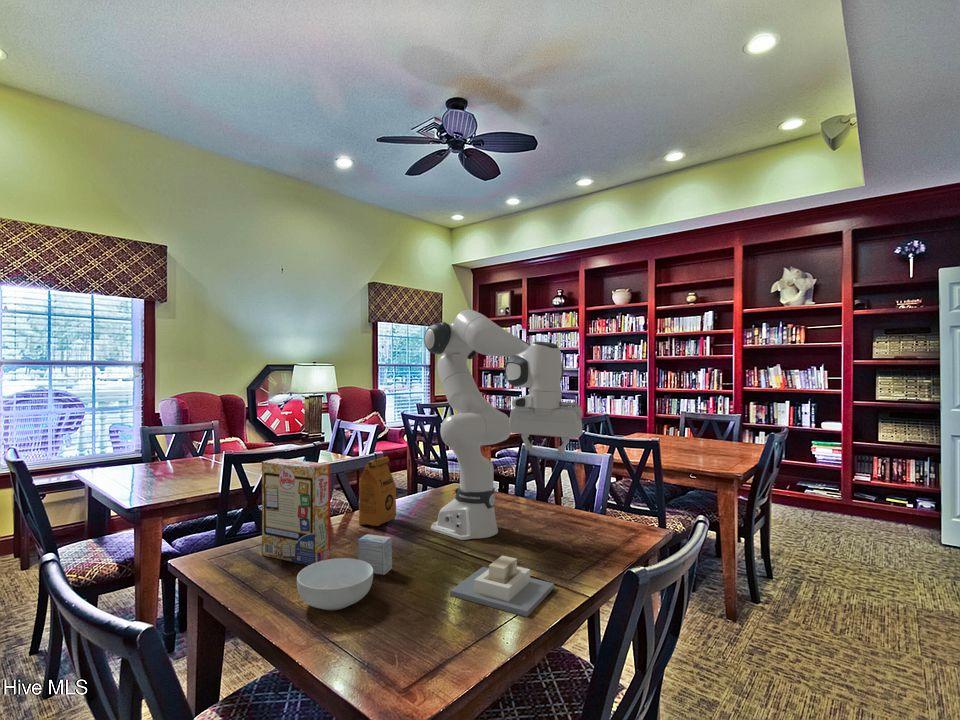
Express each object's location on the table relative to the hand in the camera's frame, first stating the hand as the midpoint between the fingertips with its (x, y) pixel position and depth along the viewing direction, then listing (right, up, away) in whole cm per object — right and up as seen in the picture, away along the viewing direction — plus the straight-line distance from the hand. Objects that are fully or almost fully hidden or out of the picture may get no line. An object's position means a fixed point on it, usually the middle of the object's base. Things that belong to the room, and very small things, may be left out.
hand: (544, 452), depth 136 cm
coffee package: (-53, -31, +37) cm, 72 cm away
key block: (-12, -30, -15) cm, 35 cm away
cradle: (-12, -31, -15) cm, 37 cm away
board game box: (-70, -31, +5) cm, 77 cm away
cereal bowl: (-51, -31, -21) cm, 63 cm away
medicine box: (-45, -31, -3) cm, 55 cm away
